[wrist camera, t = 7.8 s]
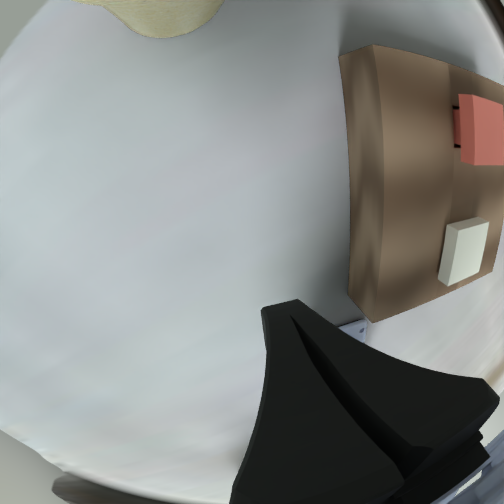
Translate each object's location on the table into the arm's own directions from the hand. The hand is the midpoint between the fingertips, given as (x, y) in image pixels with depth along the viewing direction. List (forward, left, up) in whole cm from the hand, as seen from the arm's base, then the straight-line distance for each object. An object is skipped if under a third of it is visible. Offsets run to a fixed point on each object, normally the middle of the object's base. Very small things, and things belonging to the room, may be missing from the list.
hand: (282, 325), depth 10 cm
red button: (+7, -16, -8) cm, 19 cm away
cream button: (-2, -16, -9) cm, 19 cm away
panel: (+2, -16, -9) cm, 19 cm away
